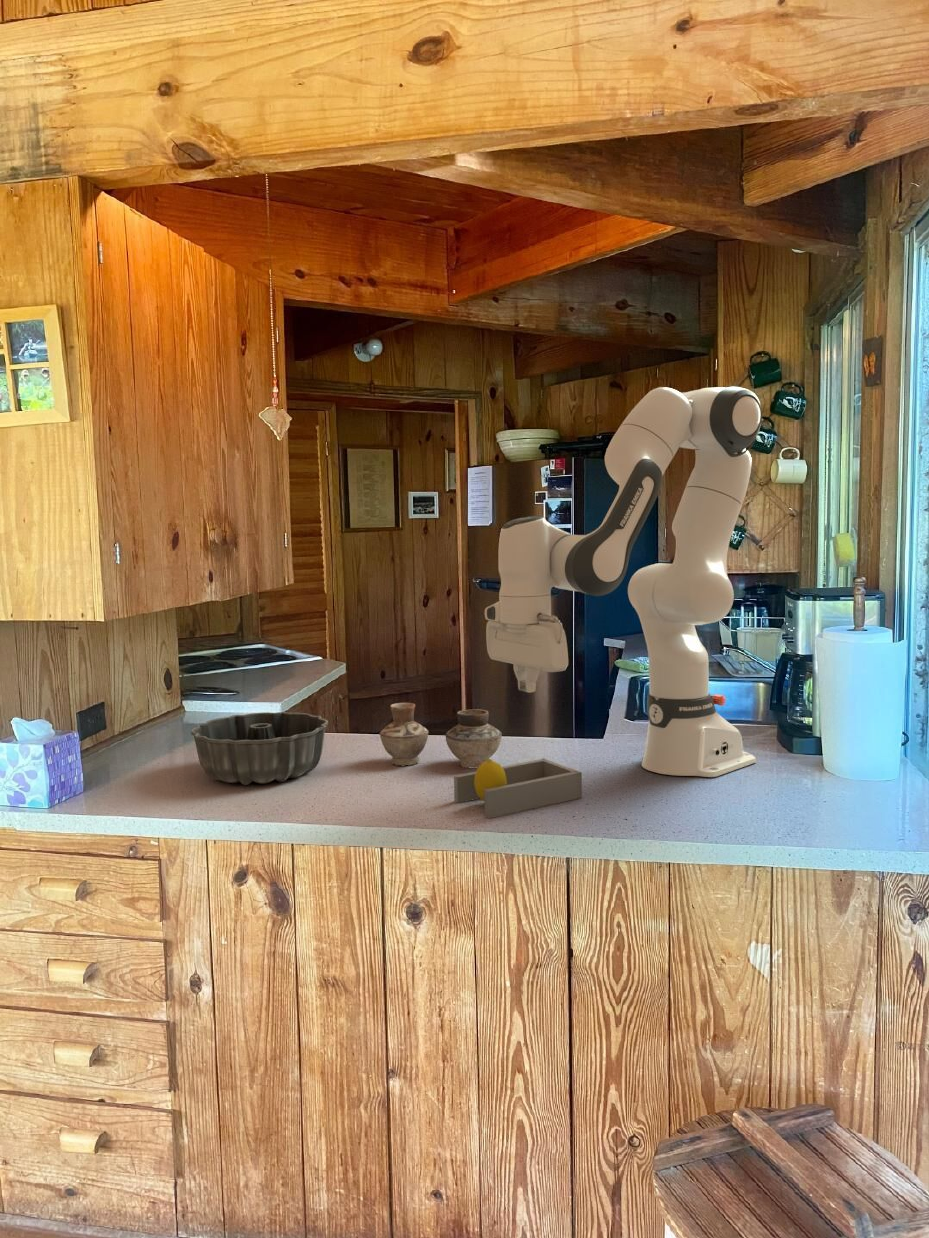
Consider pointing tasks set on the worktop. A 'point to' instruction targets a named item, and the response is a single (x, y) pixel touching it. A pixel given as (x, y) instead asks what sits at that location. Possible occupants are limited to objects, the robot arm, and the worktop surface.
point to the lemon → (489, 777)
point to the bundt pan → (260, 746)
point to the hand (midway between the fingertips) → (527, 691)
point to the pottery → (464, 740)
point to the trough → (523, 787)
